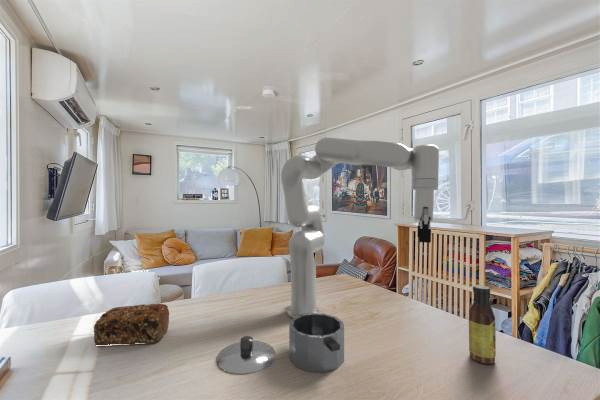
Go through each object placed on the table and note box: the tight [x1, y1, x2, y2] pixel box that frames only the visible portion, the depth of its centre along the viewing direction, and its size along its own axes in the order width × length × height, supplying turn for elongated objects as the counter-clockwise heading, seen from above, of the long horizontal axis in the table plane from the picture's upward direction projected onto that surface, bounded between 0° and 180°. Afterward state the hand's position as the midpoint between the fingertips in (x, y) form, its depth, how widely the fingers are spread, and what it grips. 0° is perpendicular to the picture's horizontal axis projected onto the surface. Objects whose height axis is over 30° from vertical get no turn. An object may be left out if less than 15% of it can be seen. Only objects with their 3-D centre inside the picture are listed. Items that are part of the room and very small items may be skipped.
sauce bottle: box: [468, 284, 497, 365], centre depth 79 cm, size 6×6×20 cm
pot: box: [288, 312, 345, 374], centre depth 81 cm, size 20×15×9 cm
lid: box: [216, 335, 276, 375], centre depth 81 cm, size 16×16×5 cm
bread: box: [93, 303, 170, 346], centre depth 91 cm, size 19×11×10 cm, turn 95°
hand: (423, 239), depth 90 cm, fingers open, 9 cm apart
